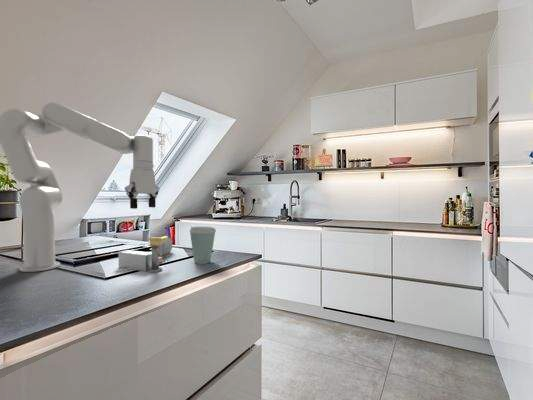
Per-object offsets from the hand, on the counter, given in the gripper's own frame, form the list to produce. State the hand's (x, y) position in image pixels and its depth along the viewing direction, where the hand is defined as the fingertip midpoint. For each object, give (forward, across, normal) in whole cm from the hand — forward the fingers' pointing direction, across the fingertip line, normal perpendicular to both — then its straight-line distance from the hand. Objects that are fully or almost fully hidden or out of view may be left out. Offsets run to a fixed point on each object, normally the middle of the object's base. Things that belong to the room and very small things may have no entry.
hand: (143, 207), depth 126 cm
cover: (+23, 0, 0) cm, 23 cm away
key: (+13, +4, +13) cm, 19 cm away
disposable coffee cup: (+22, -10, +22) cm, 33 cm away
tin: (+23, -14, -3) cm, 27 cm away
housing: (+23, +8, +7) cm, 25 cm away
